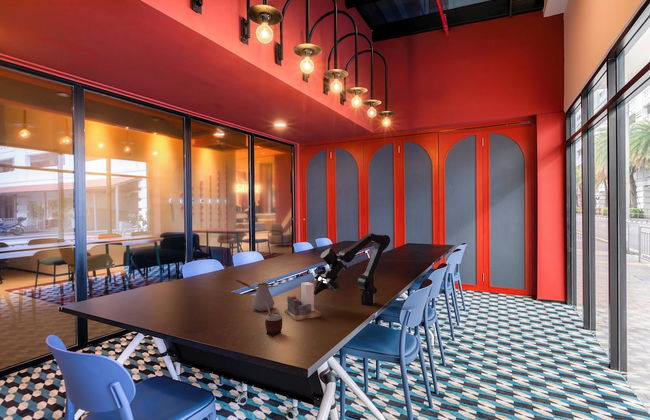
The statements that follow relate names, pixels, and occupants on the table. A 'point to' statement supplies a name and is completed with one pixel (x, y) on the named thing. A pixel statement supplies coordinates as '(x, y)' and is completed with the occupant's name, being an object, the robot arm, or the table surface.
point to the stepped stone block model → (299, 309)
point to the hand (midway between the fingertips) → (314, 294)
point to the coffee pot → (261, 296)
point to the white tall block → (307, 294)
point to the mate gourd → (273, 323)
